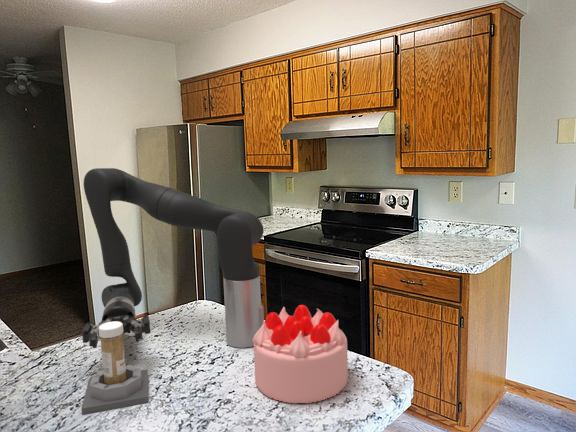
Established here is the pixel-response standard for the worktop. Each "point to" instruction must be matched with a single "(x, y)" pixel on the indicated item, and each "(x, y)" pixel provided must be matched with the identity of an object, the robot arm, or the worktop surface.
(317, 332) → the cake
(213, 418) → the worktop surface
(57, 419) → the worktop surface
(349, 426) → the worktop surface
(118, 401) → the barrel socket
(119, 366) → the sprinkles bottle
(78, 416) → the worktop surface
